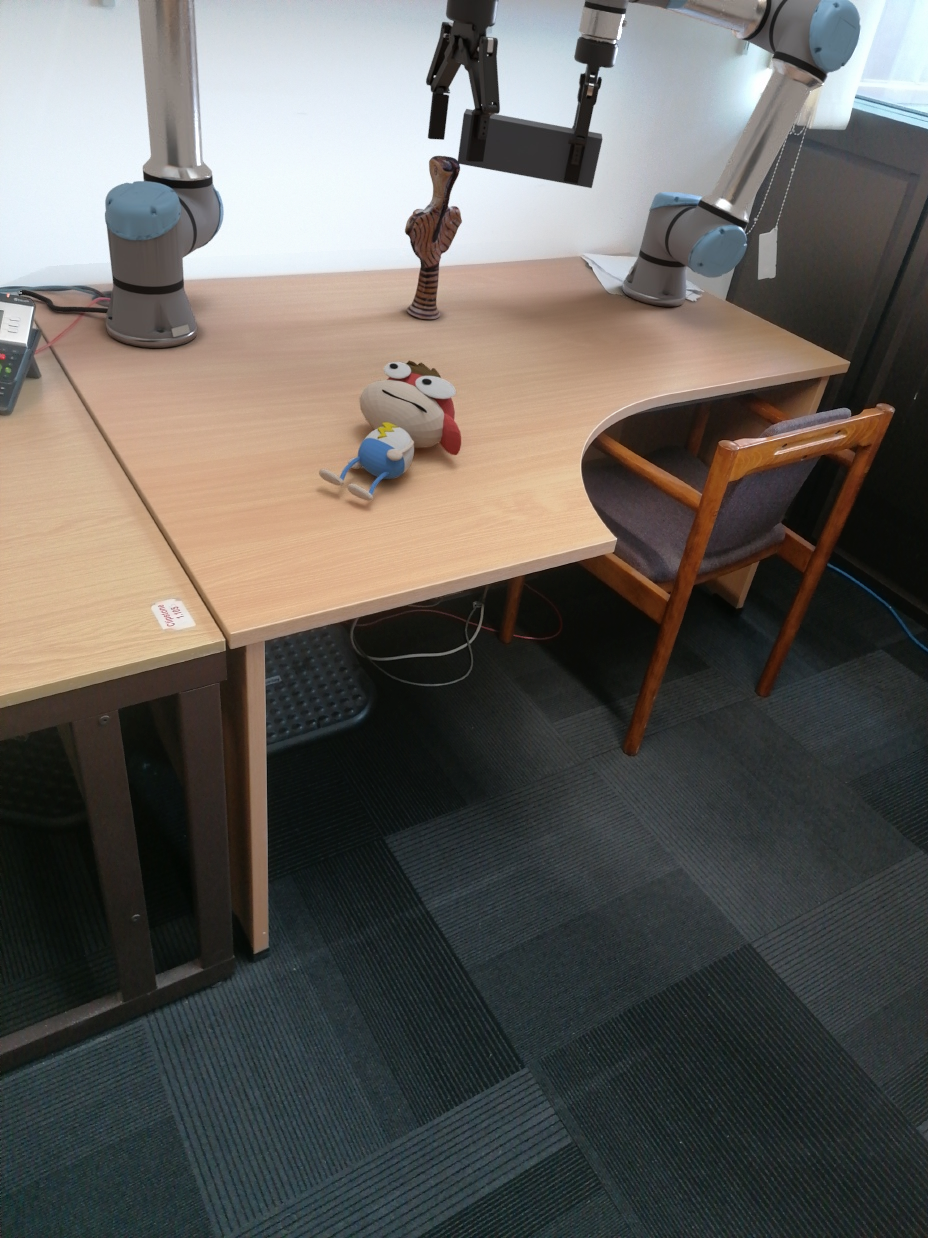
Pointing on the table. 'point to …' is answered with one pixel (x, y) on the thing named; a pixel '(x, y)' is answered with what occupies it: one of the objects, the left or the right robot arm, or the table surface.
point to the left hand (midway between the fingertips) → (454, 149)
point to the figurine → (433, 234)
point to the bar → (530, 149)
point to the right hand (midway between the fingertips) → (570, 177)
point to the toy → (402, 423)
